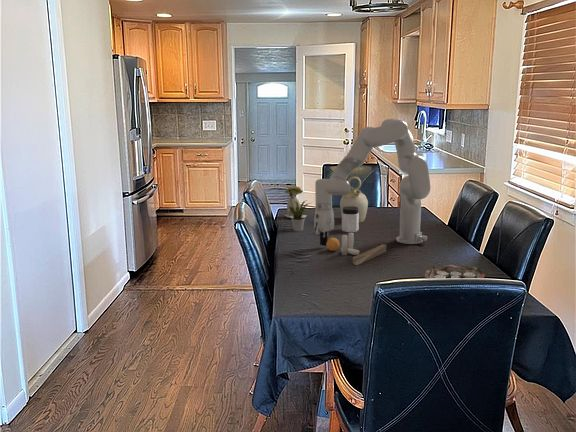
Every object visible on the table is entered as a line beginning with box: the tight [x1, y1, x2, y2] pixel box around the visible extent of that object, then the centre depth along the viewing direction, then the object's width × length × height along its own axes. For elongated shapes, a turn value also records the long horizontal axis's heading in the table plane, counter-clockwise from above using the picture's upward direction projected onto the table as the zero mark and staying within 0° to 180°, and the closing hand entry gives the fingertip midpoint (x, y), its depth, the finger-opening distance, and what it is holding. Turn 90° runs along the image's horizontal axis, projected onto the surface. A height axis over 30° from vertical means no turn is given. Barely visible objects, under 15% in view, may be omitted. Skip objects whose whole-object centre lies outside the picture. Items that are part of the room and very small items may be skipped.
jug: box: [339, 175, 369, 223], centre depth 295 cm, size 15×16×25 cm
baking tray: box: [424, 264, 486, 279], centre depth 197 cm, size 30×22×5 cm
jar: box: [341, 206, 360, 233], centre depth 274 cm, size 9×8×12 cm
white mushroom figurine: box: [283, 185, 307, 219], centre depth 304 cm, size 12×13×18 cm
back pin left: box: [341, 234, 348, 256], centre depth 234 cm, size 2×2×8 cm
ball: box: [326, 237, 341, 252], centre depth 240 cm, size 6×6×6 cm
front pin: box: [340, 246, 361, 256], centre depth 236 cm, size 2×2×8 cm
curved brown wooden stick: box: [352, 244, 387, 266], centre depth 229 cm, size 2×24×3 cm, turn 140°
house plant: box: [286, 200, 311, 232], centre depth 277 cm, size 14×14×16 cm
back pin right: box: [347, 232, 355, 249], centre depth 238 cm, size 2×2×8 cm
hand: (323, 244), depth 245 cm, fingers closed
